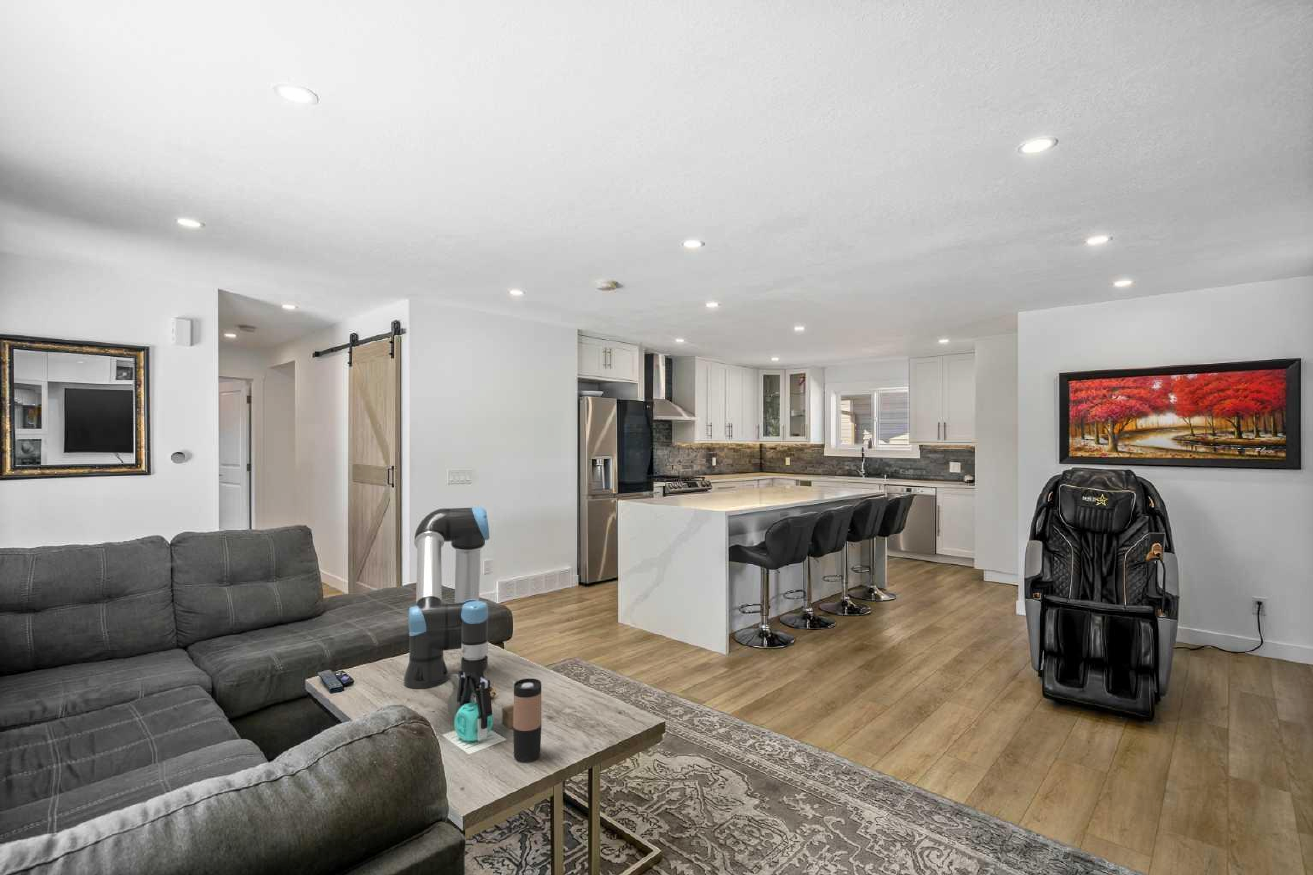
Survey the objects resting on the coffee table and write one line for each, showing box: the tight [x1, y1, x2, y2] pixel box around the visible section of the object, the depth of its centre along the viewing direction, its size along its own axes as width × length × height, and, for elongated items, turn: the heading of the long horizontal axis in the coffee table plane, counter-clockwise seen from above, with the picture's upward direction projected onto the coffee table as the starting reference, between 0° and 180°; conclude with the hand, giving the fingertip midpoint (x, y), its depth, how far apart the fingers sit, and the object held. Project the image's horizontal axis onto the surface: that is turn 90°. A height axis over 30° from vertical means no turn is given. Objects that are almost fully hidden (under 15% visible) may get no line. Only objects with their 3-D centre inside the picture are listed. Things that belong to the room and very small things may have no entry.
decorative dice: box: [453, 702, 494, 741], centre depth 180 cm, size 8×8×8 cm
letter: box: [441, 729, 507, 755], centre depth 180 cm, size 16×12×1 cm
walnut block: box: [501, 704, 514, 730], centre depth 189 cm, size 5×5×5 cm
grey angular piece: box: [447, 673, 476, 719], centre depth 197 cm, size 16×9×11 cm, turn 22°
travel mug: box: [512, 678, 542, 763], centre depth 170 cm, size 8×8×20 cm
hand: (473, 733), depth 180 cm, fingers closed on decorative dice, 9 cm apart
